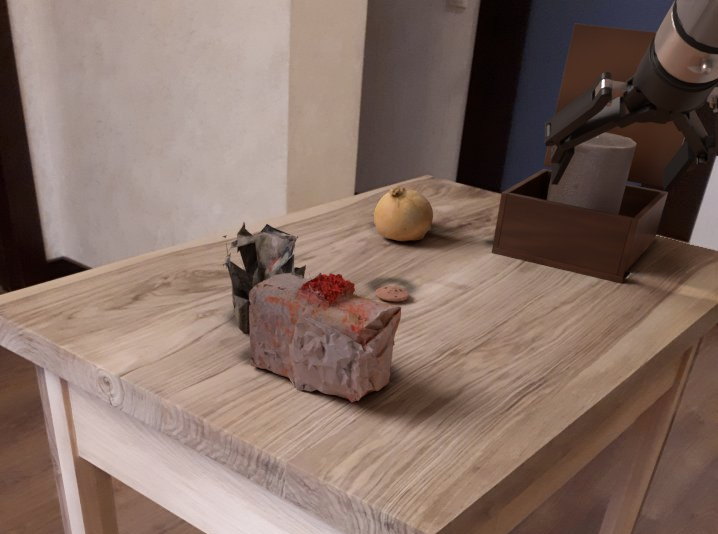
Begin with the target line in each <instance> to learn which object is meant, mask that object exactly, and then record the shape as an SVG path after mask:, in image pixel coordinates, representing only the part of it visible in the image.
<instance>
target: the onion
mask: <svg viewBox="0 0 718 534" xmlns="http://www.w3.org/2000/svg"><path fill="white" fill-rule="evenodd" d="M433 221H434V210H433V208H432V205H431V202H430V201H429V200H428V198H427V197H425V196H424V195H423V194H422V193H420V192H419V191H417V190H414V189H411V188H410V189H409V188H406V187H403V186H400V185H395V186H394V187H390V190H389V191H388V192H386V193H384V195H383V196H382V197H381V198H380V199H379V201H378V202H377V204H376V207H375V209H374V211H373V222H374V226H375V228H376V231H377V232H378V235H380V236H382V237H383V238H385V239H390V240H395V241H397V242H407V241H413V242H415V241H420V240H422V239H424V237H425V235H426V234H427V232H428V231H429V229H430V227H432V226H431V225H432V224H433Z"/></svg>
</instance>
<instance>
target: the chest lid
mask: <svg viewBox="0 0 718 534" xmlns="http://www.w3.org/2000/svg"><path fill="white" fill-rule="evenodd" d="M656 33H657V31H648V30H647V31H646V30H638V29H630V28H621V27H613V26H611V27H610V26H603V25H594V24H586V23H576V22H575V23H574V25H573V29H572V34H571V37H570V38H571V39H570V43H569V47H568V52H567V57H566V61H565V65H564V69H563V75H562V80H561V84H560V89H559V92H558V97H557V101H556V107H555V112H554V115H556V114H557V113H558V112H560V111H561V110H562V109H564V108H565V107H566V106H567V105H569V104H570V103H571V102H573V101H574V100H575V99H576V98H578V97H579V96H580V95H582V94H583V93H584V92H586V91H587V90H588V89H589V88H591V87H592V86H593V85H594V83H595V82H596V80H597V79H598V77H599V76H600V75H601V74H602V73H604V72H610V73H611V74H612V80H613V81H620V82H626V81H627V80H628V79H629V78H631V77H632V76H633V75H634V74H635V73H636V70H637V68H638V66H639V63H640V61H641V59H642V57H643V56H644V54H645V52H646V50H647V49H648V47H649V45H650V43H651V41H652V40H653V38H654V36H655V35H656ZM628 113H629V111H628V109H627V107H626V114H628ZM605 133H610V134H615V135H620V136H623V137H627V138H631V139H632V140H633V141H634V142H636V144H637V145H636V148H635V152H634V156H633V159H632V163H631V167H630V171H629V175H628V178H627V182H630V183H636V184H641V185H646V186H652V187H657V188H663V170H664V169H665V167H666V166H667V165H668V163H669V162H670V161H671V159H672V158H673V157H674V155H675V154H676V153H677V151H678V150H679V149H680V147H681V146H682V145H683V143H684V142H685V140H686V139H685V137H684V135H683V134H682V132H681V131H680V132H679V131H678V129H677V128H676V126H675V124H674V123H673V121H671V122H667V123H666V124H658V123H654V122H647V123H638V122H635V123H633V124H631V125H629V126H627V127H624V128H620V127H619V126H618V127H615V128H613V129H611V130H609V131H607V132H605ZM552 147H553V146H547V148H546V153H545V157H544V162H543V166H545V167H551V168H552V163H551V149H552ZM663 189H664V188H663Z"/></svg>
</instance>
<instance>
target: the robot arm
mask: <svg viewBox="0 0 718 534" xmlns="http://www.w3.org/2000/svg"><path fill="white" fill-rule="evenodd" d="M656 32H657V33H656V35H655V36H654V38H653V40H652V41H651V43H650V45H649V47H648V49H647V50H646V52H645V54H644V56H643V57H642V59H641V61H640V63H639V66H638V68H637V70H636V73H635V74H634V75H633V76H632V77H631V78H629V79H628V80H627V81H626V82H620V81H613V80H612V74H611V73H610V72H604V73H602V74H601V75H600V76H599V77H598V79H597V80H596V82H595V83H594V85H593V86H592V87H591V88H589V89H588V90H587V91H586V92H584V93H583V94H582V95H580V96H579V97H578V98H576V99H575V100H574V101H573V102H571V103H570V104H569V105H567V106H566V107H565V108H564V109H562V110H561V111H560V112H558V113H557V114H556V115H555V114H554V115H553V116H552V117H550V118H549V119H548V120H546V121H545V122H544V146H546V147H548V146H553V147H552V149H551V163H552V167H551V170H552V172H551V184H552V185H558V183H559V181H560V179H561V178H562V176H563V174H564V172H565V170H566V168H567V166H568V164H569V162H570V161H571V159H572V157H573V155H574V153H575V146H577V145H579V144H581V143H583V142H586V141H588V140H590V139H592V138H594V137H596V136H598V135H600V134H603V133H605V132H607V131H609V130H611V129H613V128H615V127H618V126H619V127H620V128H624V127H627V126H629V125H631V124H633V123H635V122H638V123H647V122H654V123H658V124H666V123H667V122H671V121H673V123H674V124H675V126H676V128H677V129H678V131H679V132H680V131H681V132H682V134H683V135H684V137H685V139H684V142H683V145H682V146H681V147H680V149H679V150H678V151H677V153H676V154H675V155H674V157H673V158H672V159H671V161H670V162H669V163H668V165H667V166H666V167H665V169H664V170H663V191H665V192H671V191H672V189H673V188H674V187H675V186H676V184H677V183H678V182H679V181H680V179H682V177H683V176H684V174H685V173H686V172H691V171H692V170H694V169H695V168H696V167H697V165H699V166H704V165H706V164H708V162H709V155H711V154H714V155H715V156H716V157H718V86H717V85H718V0H674V1H673V3H672V4H671V6H670V8H669V10H668V11H667V13H666V15H665V16H664V18H663V20H662V22H661V24H660V25H659V27H658V29H657V31H656ZM706 103H708V105H709V106H708V107H709V108H711V109H712V113H713V114H714V118H713V119H714V123H713V125H714V135H708V132H707V131H706V129H705V127H704V124H703V123H702V121H701V120H700V118H699V116H698V114H697V112H696V110H698V109H700V108H702V107H703V106H705V105H706ZM626 107H627V109H628V111H629V113H628V114H626Z"/></svg>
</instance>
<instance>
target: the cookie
mask: <svg viewBox="0 0 718 534" xmlns="http://www.w3.org/2000/svg"><path fill="white" fill-rule="evenodd" d="M374 294H375V296H376V297H377V298H379V299H381V300H384V301H388V302H403V301H407V299H409V298H410V296H411V294H410V292H409V291H408V290H407V289H405V288H403V287H400V286H396V285H384V286H380V287H378V288H377V289H375V291H374Z"/></svg>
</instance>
